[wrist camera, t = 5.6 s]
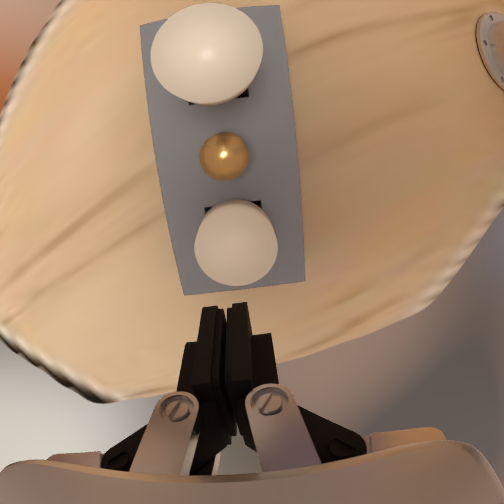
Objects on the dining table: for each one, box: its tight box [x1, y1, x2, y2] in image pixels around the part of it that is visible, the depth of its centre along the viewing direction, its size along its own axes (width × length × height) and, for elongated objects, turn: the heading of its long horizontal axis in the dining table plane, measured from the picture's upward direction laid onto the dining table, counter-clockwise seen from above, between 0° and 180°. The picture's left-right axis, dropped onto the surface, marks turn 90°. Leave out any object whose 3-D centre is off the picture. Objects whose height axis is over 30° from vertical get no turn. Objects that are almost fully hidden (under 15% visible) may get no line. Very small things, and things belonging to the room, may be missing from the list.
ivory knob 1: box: [151, 3, 263, 105], centre depth 19 cm, size 6×6×9 cm
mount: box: [140, 5, 305, 295], centre depth 28 cm, size 12×26×6 cm, turn 6°
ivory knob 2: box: [194, 199, 278, 286], centre depth 28 cm, size 6×6×9 cm
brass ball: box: [199, 132, 249, 181], centre depth 24 cm, size 4×4×4 cm
